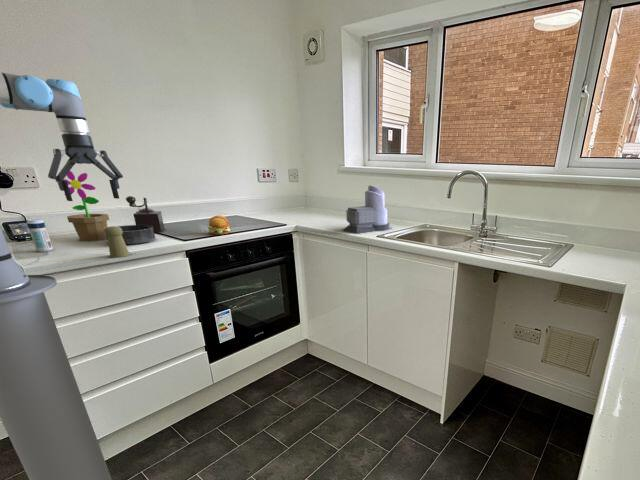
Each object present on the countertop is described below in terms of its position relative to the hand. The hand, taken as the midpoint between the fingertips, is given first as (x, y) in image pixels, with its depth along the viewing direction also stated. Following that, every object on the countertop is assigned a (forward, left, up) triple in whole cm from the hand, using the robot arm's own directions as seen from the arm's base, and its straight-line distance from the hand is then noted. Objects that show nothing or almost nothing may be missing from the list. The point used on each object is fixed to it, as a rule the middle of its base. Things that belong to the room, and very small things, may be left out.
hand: (94, 199), depth 125 cm
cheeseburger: (+51, -14, -21) cm, 57 cm away
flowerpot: (+27, +32, -21) cm, 47 cm away
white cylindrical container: (+3, +30, -21) cm, 37 cm away
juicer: (+83, -86, -21) cm, 122 cm away
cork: (+2, -2, -21) cm, 21 cm away
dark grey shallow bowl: (+25, +12, -21) cm, 35 cm away
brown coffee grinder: (+47, +21, -21) cm, 56 cm away
